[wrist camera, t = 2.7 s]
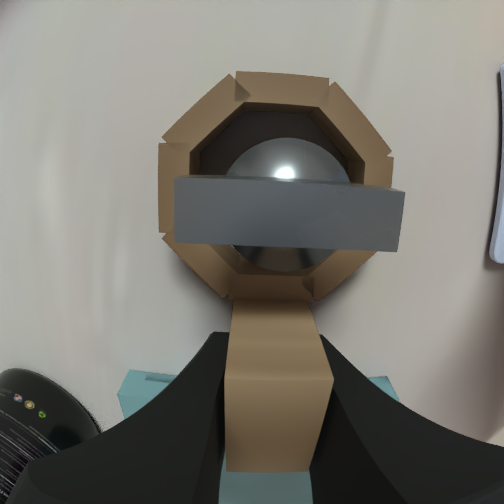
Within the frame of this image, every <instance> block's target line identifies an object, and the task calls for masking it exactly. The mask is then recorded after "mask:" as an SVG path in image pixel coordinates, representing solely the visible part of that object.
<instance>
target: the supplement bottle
mask: <svg viewBox="0 0 504 504" xmlns="http://www.w3.org/2000/svg"><path fill="white" fill-rule="evenodd" d="M97 435H99V433H98V430H97V428H96V426H95V424H94V422H93V420H92V419H91V417H90V416H89V414H88V413H87V412H86V410H85V409H84V408H83V407H82V406H81V405H80V404H79V403H78V402H77V401H76V400H75V399H74V398H73V397H72V396H71V395H70V394H69V393H68V392H66V391H65V390H64V389H63V388H61V387H60V386H59V385H57V384H56V383H54V382H53V381H51V380H49V379H48V378H46V377H44V376H42V375H40V374H38V373H35V372H33V371H29V370H26V369H19V368H13V369H8V370H5V371H3V372H2V373H0V504H5V503H6V501H7V499H8V497H9V495H10V493H11V491H12V489H13V487H14V485H15V483H16V481H17V479H18V478H19V476H20V474H21V472H22V471H23V469H24V468H25V466H26V465H27V463H28V462H29V461H30V460H34V459H38V458H41V457H44V456H47V455H50V454H53V453H56V452H59V451H62V450H65V449H68V448H70V447H73V446H75V445H78V444H80V443H82V442H84V441H87V440H89V439H91V438H93V437H95V436H97Z"/></svg>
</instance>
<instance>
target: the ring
mask: <svg viewBox="0 0 504 504" xmlns="http://www.w3.org/2000/svg"><path fill="white" fill-rule="evenodd" d="M245 111H269V112H284V113H297V114H308V115H309V116H310V117H311V118H312V119H313V121H314V122H315V123H316V124H317V125H318V126H319V127H320V129H321V130H322V131H323V132H324V133H325V134H326V135H327V137H328V138H329V139H330V140H331V141H332V142H333V144H334V145H335V146H336V147H337V148H338V150H339V151H340V152H341V153H342V154H343V156H344V157H345V158H346V159H347V161H348V163H347V176H348V178H349V181H350V183H358V184H367V185H377V186H386V187H389V188H391V184H392V172H393V159H394V157H388V156H387V155H388V154H389V153H390V152H391V149H390V148H389V147H388V145H387V144H386V143H385V141H384V140H383V139H382V137H381V136H380V135H379V133H378V132H377V131H376V129H375V128H374V127H373V126H372V124H371V123H370V122H369V121H368V119H367V118H366V117H365V116H364V114H363V113H362V112H361V111H360V110H359V108H358V107H357V106H356V105H355V104H354V102H353V101H352V100H351V99H350V98H349V97H348V95H347V94H346V93H345V92H344V91H343V90H342V89H341V88H340V86H339V85H338V84H337V83H336V82H334V83H333V84H331V85H330V86H329V78H323V77H314V76H305V75H295V74H283V73H267V72H243V71H236V79H234V78H233V77H232V76H231V75H230V74H228V75H227V76H226V77H225V78H224V79H223V80H221V81H220V82H219V83H218V84H217V85H216V86H215V87H213V88H212V89H211V90H210V91H209V92H208V93H207V94H206V95H204V96H203V97H202V98H201V99H200V100H199V101H198V102H197V103H196V104H195V105H194V106H193V107H191V108H190V109H189V110H188V111H187V112H186V113H185V114H184V115H183V116H182V117H181V118H180V119H179V120H178V121H177V122H176V123H175V124H174V125H173V126H172V127H171V128H170V129H169V130H168V131H167V132H166V133H165V134H164V135H163V136H162V138H163V139H164V140H165V141H166V142H167V143H159V154H158V212H159V232H161V233H166V234H165V235H164V236H163V237H162V239H163V240H164V241H165V242H166V243H167V244H168V245H169V246H170V247H171V248H172V249H173V250H174V251H175V252H176V253H177V254H178V255H179V256H180V257H181V258H182V259H183V260H184V261H185V262H186V263H187V264H188V265H189V266H190V267H191V268H192V269H193V270H194V271H195V272H196V273H197V274H198V275H199V276H200V277H201V278H202V279H203V280H204V281H205V282H206V283H207V284H208V285H209V286H210V287H211V288H212V289H213V290H214V291H215V292H216V293H217V294H218V295H219V296H220V297H222V298H224V297H225V296H226V295H227V294H228V301H234V302H233V310H232V318H231V327H230V335H229V343H228V352H227V360H226V369H225V378H224V389H225V449H226V472H246V473H287V472H308V470H309V467H310V464H311V460H312V457H313V454H314V451H315V448H316V444H317V441H318V438H319V434H320V431H321V427H322V424H323V420H324V417H325V413H326V409H327V405H328V402H329V398H330V394H331V390H332V386H333V382H334V378H333V375H332V372H331V368H330V365H329V362H328V359H327V356H326V354H325V351H324V348H323V345H322V342H321V339H320V336H319V333H318V330H317V327H316V324H315V321H314V318H313V315H312V313H311V310H310V307H309V304H312V300H313V297H314V298H315V299H316V300H317V301H319V300H320V299H322V298H323V297H324V296H325V295H327V294H328V293H329V292H330V291H331V290H333V289H334V288H335V287H336V286H338V285H339V284H340V283H341V282H342V281H343V280H345V279H346V278H347V277H348V276H349V275H351V274H352V273H353V272H354V271H355V270H356V269H358V268H359V267H360V266H361V265H362V264H363V263H365V262H366V261H367V260H368V259H369V258H370V257H371V256H373V255H374V254H375V253H376V252H377V251H362V250H340V249H336V250H335V251H334V252H333V253H332V254H331V255H330V256H328V257H327V258H326V259H324V260H323V261H321V262H320V263H318V264H316V265H314V266H311V267H309V268H306V269H302V270H297V271H287V272H282V271H274V270H269V269H265V268H263V267H260V266H257V265H256V264H254V263H252V262H250V261H249V260H247V259H246V258H244V257H243V256H242V255H239V254H238V253H237V252H236V250H235V249H234V248H233V247H232V246H231V245H217V244H190V243H175V239H174V178H176V177H179V176H182V175H199V169H200V152H201V151H202V150H203V149H204V148H205V147H206V146H207V145H208V144H209V143H210V142H211V141H213V140H214V139H215V138H216V137H217V136H218V135H219V134H220V133H221V132H222V131H223V130H224V129H226V128H227V127H228V126H229V125H230V124H231V123H232V122H233V121H234V120H235V119H237V118H238V117H239V116H240V115H241V114H242V113H243V112H245Z"/></svg>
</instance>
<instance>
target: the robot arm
mask: <svg viewBox="0 0 504 504" xmlns="http://www.w3.org/2000/svg"><path fill="white" fill-rule="evenodd" d="M500 74H501V88H502V114H503V132H502V159H501V173H500V184H499V193H498V201H497V208H496V215H495V222H494V228H493V233H492V239H491V244H490V249H489V255H490V258H491V259H492V260H493V261H495V262H496V263H499V264H504V63H503V64H502V65H501V67H500ZM229 335H230V333H229V332H213V333H212V334H210V336H209V337H208V339H207V340H206V342H205V343H204V345H203V346H202V347H201V349H200V350H199V351H198V353H197V354H196V355H195V356H194V358H193V359H192V360H191V361H190V362H189V363H188V365H187V366H186V367H185V368H184V369H183V370H182V371H181V372H180V374H179V375H178V376H177V377H176V378H175V379H174V380H173V381H172V382H171V383H170V384H168V385H167V386H166V387H165V388H164V389H163V390H162V391H161V392H160V393H159V394H158V395H157V396H155V397H154V398H153V399H152V400H151V401H149V402H148V403H147V404H146V405H144V406H143V407H142V408H140V409H139V410H138V411H136V412H135V413H133V414H132V415H130V416H129V417H128V418H126V419H125V420H123V421H122V422H120V423H118V424H117V425H115V426H114V427H112V428H110V429H108V430H107V431H105V432H103V433H101V434H99V435H97V436H95V437H93V438H91V439H89V440H87V441H84V442H82V443H80V444H78V445H75V446H73V447H70V448H68V449H65V450H62V451H59V452H56V453H53V454H50V455H47V456H44V457H41V458H38V459H34V460H30V461H29V462H28V463H27V465H26V466H25V468H24V469H23V471H22V472H21V474H20V476H19V478H18V479H17V481H16V483H15V485H14V487H13V489H12V491H11V493H10V495H9V497H8V499H7V501H6V503H5V504H219V489H220V479H221V471H222V466H223V460H224V455H225V389H224V378H225V369H226V360H227V352H228V343H229ZM319 336H320V339H321V342H322V345H323V348H324V351H325V354H326V356H327V359H328V362H329V365H330V368H331V372H332V375H333V378H334V382H333V386H332V390H331V394H330V398H329V402H328V405H327V409H326V413H325V417H324V420H323V424H322V427H321V431H320V434H319V438H318V441H317V444H316V448H315V451H314V454H313V457H312V460H311V464H310V467H309V474H310V480H311V488H312V499H313V504H504V447H501V446H498V445H493V444H489V443H485V442H482V441H478V440H475V439H473V438H470V437H467V436H464V435H462V434H459V433H456V432H454V431H452V430H449V429H447V428H445V427H442V426H440V425H438V424H436V423H434V422H432V421H430V420H428V419H426V418H424V417H423V416H421V415H419V414H417V413H416V412H414V411H412V410H410V409H409V408H407V407H406V406H404V405H403V404H401V403H400V402H398V401H397V400H395V399H394V398H392V397H391V396H389V395H388V394H387V393H385V392H384V391H383V390H381V389H380V388H379V387H378V386H376V385H375V384H374V383H373V382H371V381H370V380H369V379H368V378H367V377H366V376H364V375H363V374H362V373H361V372H360V371H359V370H358V369H357V368H355V367H354V366H353V365H352V364H351V363H350V362H349V361H348V360H347V359H346V358H345V357H344V356H343V355H342V354H341V353H340V352H339V351H338V350H337V349H336V348H335V347H334V346H333V345H332V344H331V343H330V342H329V341H328V340H327V339H326V338H325V337H324V336H323V335H322V334H319Z"/></svg>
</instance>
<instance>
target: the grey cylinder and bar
mask: <svg viewBox="0 0 504 504" xmlns="http://www.w3.org/2000/svg"><path fill="white" fill-rule="evenodd" d="M404 198H405V192H403V191H399V190H396V189H393V188H389V187H386V186H377V185H367V184H358V183H350V181H349V178H348V176H347V174H346V172H345V170H344V169H343V167H342V166H341V164H340V163H339V162H338V161H337V160H336V159H335V158H334V156H333V155H331V154H330V153H329V152H328V151H326V150H325V149H323V148H322V147H320V146H318V145H316V144H314V143H312V142H309V141H306V140H302V139H297V138H277V139H271V140H268V141H264V142H262V143H259V144H257V145H255V146H253V147H252V148H250V149H248V150H247V151H246V152H244V153H243V154H242V155H241V156H240V157H239V158H238V159H237V160H236V161H235V162H234V163H233V165H232V166H231V167H230V169H229V170H228V172H227V174H226V175H182V176H179V177H176V178H174V239H175V243H190V244H217V245H232V246H233V247H234V248H235V249H236V250H237V252H239V253H240V254H241V255H242V256H243V257H244V258H246V259H247V260H249V261H250V262H252V263H254V264H256V265H257V266H260V267H263V268H265V269H269V270H274V271H282V272H287V271H297V270H302V269H306V268H309V267H311V266H314V265H316V264H318V263H320V262H321V261H323V260H324V259H326V258H327V257H328V256H330V255H331V254H332V253H333V252H334V251H335V250H336V249H340V250H362V251H384V252H397V249H398V242H399V236H400V229H401V222H402V214H403V206H404Z"/></svg>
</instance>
